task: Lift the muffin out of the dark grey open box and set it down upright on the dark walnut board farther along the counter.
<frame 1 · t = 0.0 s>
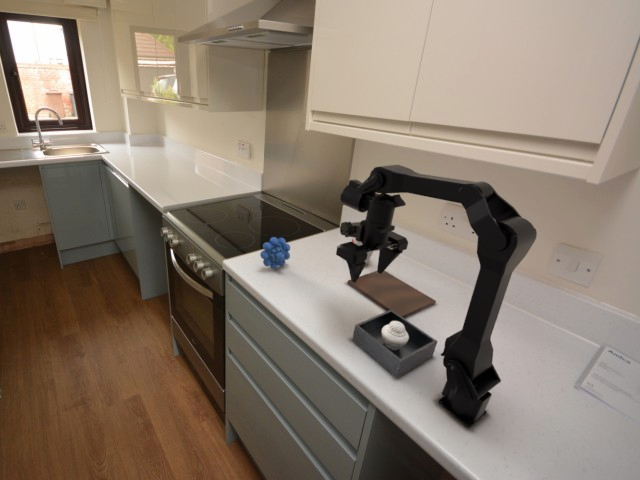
hand: (366, 277, 84), 15 cm above the countertop, tool pointing down, fingers open, 9 cm apart
dark grey open box: (391, 348, 83), on the countertop
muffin: (391, 346, 82), point 1 cm above the countertop, touching dark grey open box
board: (389, 293, 104), on the countertop
cup: (359, 263, 121), on the countertop
grapes: (275, 270, 114), on the countertop
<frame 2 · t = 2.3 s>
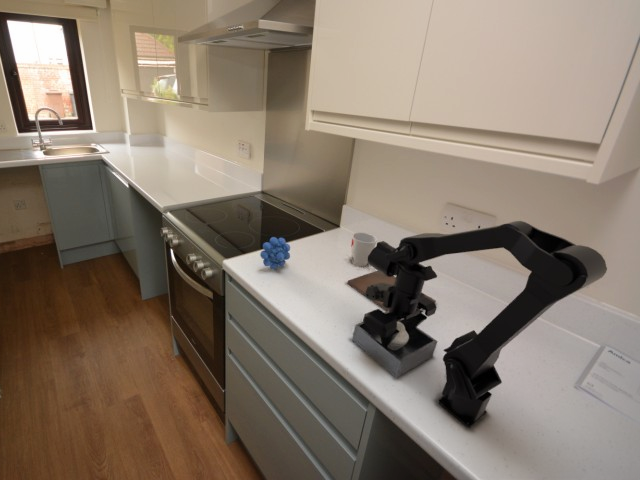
hand: (393, 341, 82), 2 cm above the countertop, tool pointing down, fingers closed on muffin, 6 cm apart
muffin: (391, 346, 82), point 1 cm above the countertop, touching dark grey open box, gripper
everything else where it was.
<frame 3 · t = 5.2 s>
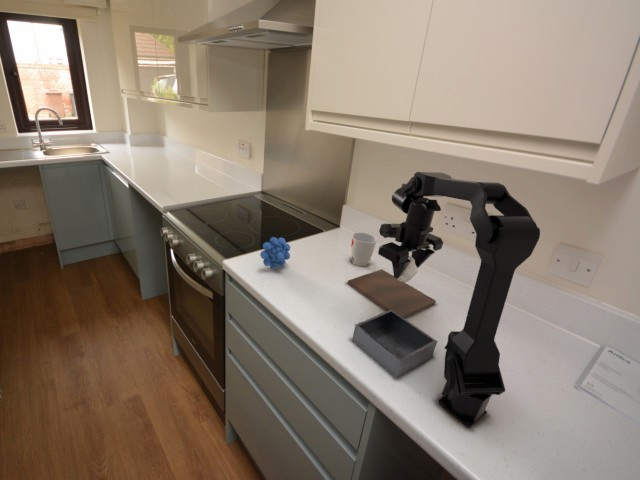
hand: (403, 274, 91), 12 cm above the countertop, tool pointing down, fingers closed on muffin, 6 cm apart
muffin: (402, 279, 91), point 11 cm above the countertop, touching gripper
everything else where it was.
when the fingers open (2 cm above the countertop, at t = 8.4 s): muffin stays where it is, resting on board.
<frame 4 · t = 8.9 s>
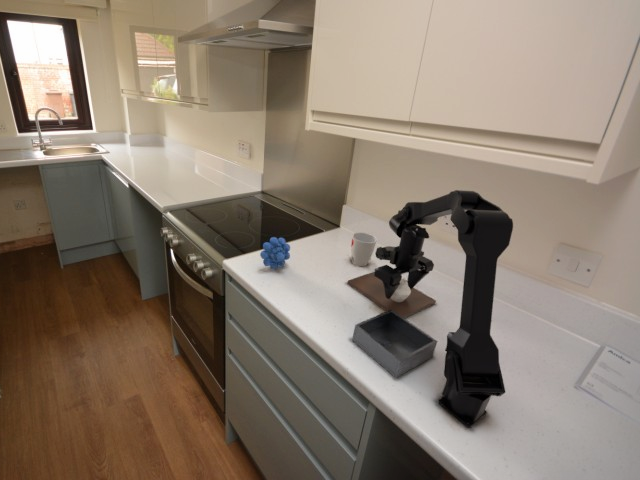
hand: (398, 293, 99), 3 cm above the countertop, tool pointing down, fingers open, 9 cm apart
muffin: (396, 299, 100), point 1 cm above the countertop, touching board
everything else where it was.
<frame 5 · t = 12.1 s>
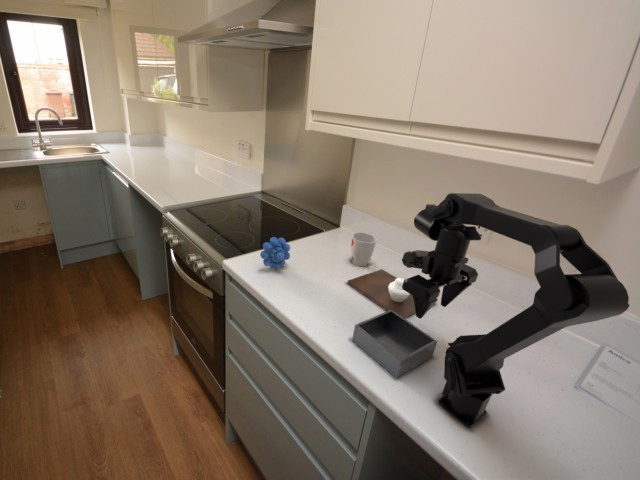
hand: (431, 311, 77), 12 cm above the countertop, tool pointing down, fingers open, 9 cm apart
nothing on the countertop moved.
at the end: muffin inside the target area on the board (4.6 cm from its centre), point 1.0 cm above the board's base; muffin tilted 0°; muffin touching board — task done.
